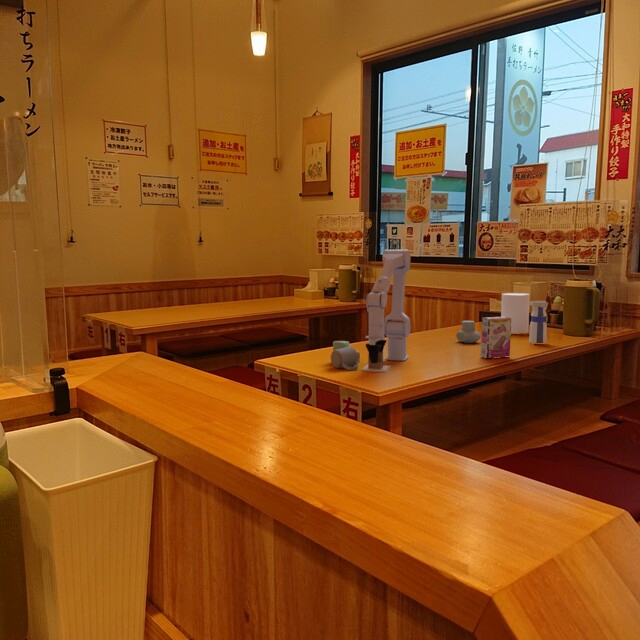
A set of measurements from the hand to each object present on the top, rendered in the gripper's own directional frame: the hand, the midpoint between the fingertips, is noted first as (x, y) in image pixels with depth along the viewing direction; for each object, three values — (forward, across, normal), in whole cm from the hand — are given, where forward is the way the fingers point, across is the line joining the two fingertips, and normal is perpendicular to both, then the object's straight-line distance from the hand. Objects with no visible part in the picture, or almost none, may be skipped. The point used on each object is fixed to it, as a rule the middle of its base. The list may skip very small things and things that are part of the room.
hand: (376, 361), depth 221 cm
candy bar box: (+3, -34, +42) cm, 54 cm away
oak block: (+3, -12, -12) cm, 17 cm away
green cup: (+3, -9, -16) cm, 19 cm away
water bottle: (+3, -74, +60) cm, 95 cm away
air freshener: (+3, -69, +29) cm, 75 cm away
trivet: (+3, 0, 0) cm, 3 cm away
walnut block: (+2, 0, 0) cm, 2 cm away
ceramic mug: (+3, +1, -11) cm, 12 cm away
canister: (+3, -105, +50) cm, 116 cm away
